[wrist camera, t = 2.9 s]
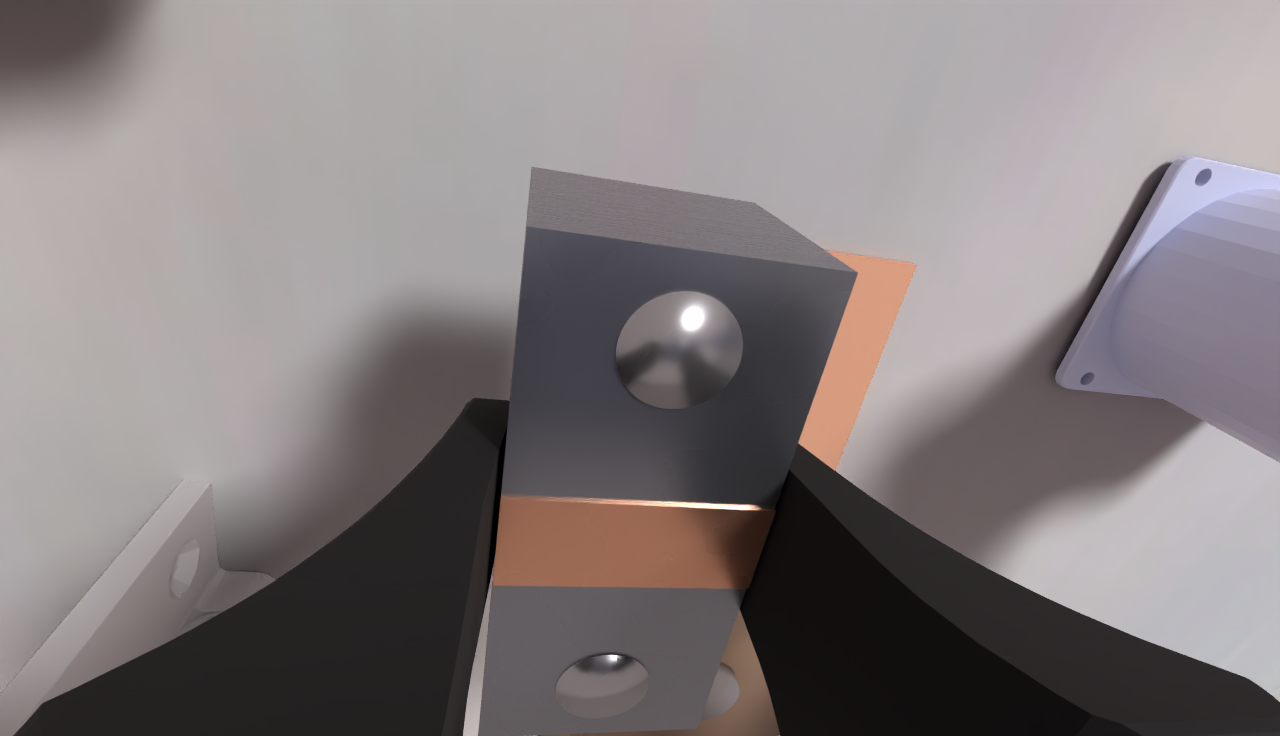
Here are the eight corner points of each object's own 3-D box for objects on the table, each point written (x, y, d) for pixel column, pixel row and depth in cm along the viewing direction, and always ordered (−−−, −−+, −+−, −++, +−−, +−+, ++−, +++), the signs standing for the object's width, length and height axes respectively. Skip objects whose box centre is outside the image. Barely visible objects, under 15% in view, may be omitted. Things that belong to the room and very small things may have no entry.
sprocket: (898, 540, 24) (923, 573, 23) (796, 751, 31) (810, 788, 29) (547, 527, 21) (547, 565, 20) (513, 764, 28) (511, 807, 26)
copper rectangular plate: (913, 263, 19) (916, 265, 18) (808, 531, 23) (810, 534, 23) (733, 237, 17) (735, 238, 17) (661, 525, 22) (662, 529, 22)
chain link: (754, 202, 11) (859, 274, 7) (659, 567, 15) (697, 731, 11) (531, 166, 10) (527, 228, 6) (494, 563, 14) (477, 739, 10)
